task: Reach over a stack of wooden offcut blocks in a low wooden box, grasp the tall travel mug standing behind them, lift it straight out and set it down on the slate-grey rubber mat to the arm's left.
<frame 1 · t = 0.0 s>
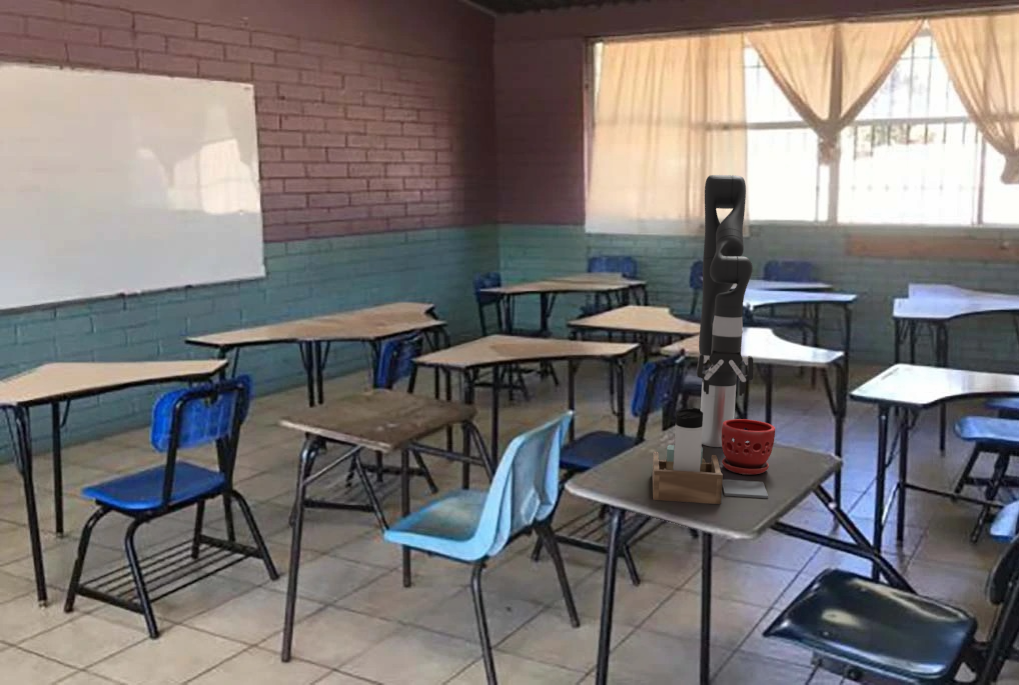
hand: (723, 394, 252), 17 cm above the table, tool pointing down, fingers open, 8 cm apart
mat: (744, 489, 231), on the table
offcut mid: (685, 472, 235), point 3 cm above the table, touching offcut low
plant pot: (745, 470, 246), on the table
wooden box: (685, 488, 231), on the table
travel mug: (685, 493, 228), resting in wooden box
offcut low: (684, 483, 235), resting in wooden box, touching offcut mid
offcut top: (684, 460, 234), point 6 cm above the table
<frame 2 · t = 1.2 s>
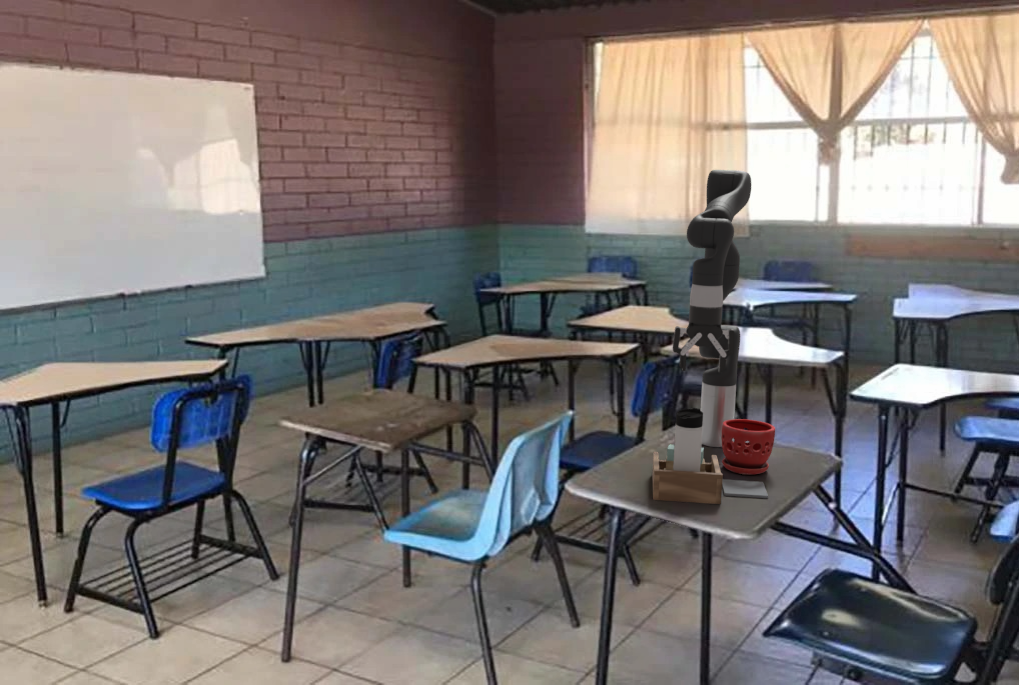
hand: (701, 371, 229), 28 cm above the table, tool pointing down, fingers open, 8 cm apart
offcut mid: (684, 471, 235), point 3 cm above the table, touching offcut low, offcut top
offcut top: (685, 460, 234), point 6 cm above the table, touching offcut mid
everything else where it was.
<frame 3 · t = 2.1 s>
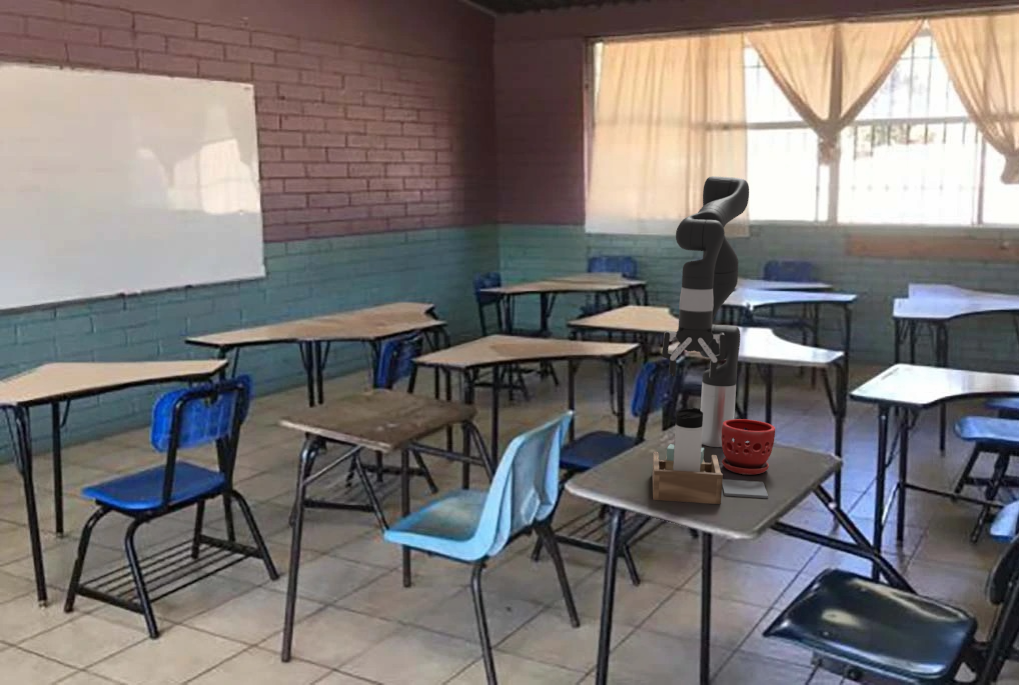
hand: (692, 376, 223), 28 cm above the table, tool pointing down, fingers open, 8 cm apart
offcut mid: (684, 472, 235), point 3 cm above the table, touching offcut low
offcut top: (684, 460, 234), point 6 cm above the table
everything else where it was.
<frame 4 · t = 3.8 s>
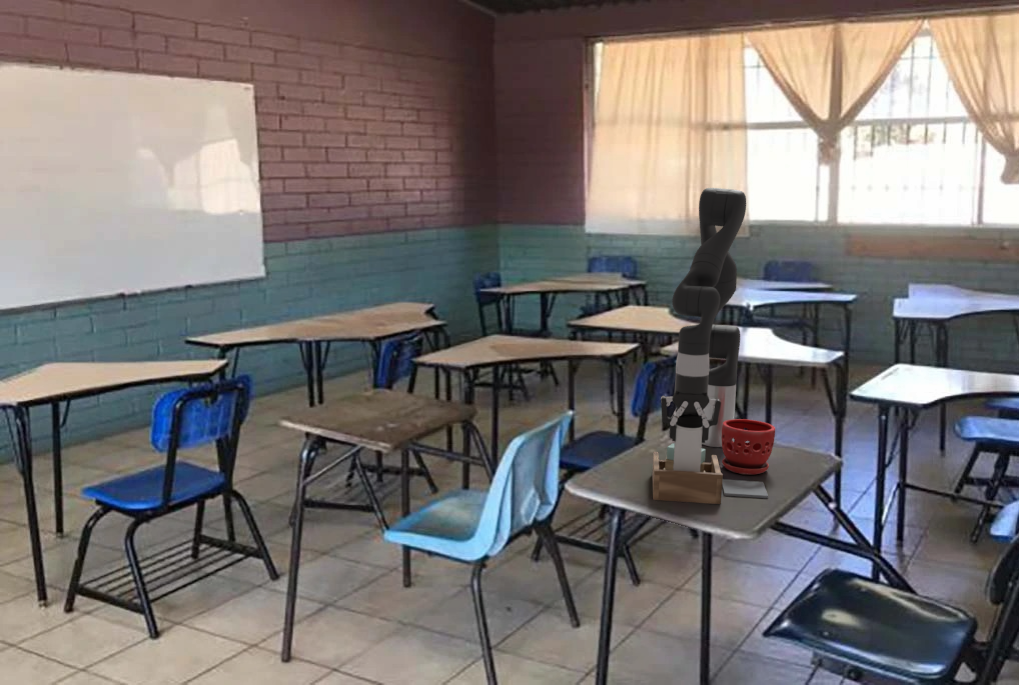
hand: (688, 440, 226), 13 cm above the table, tool pointing down, fingers closed on travel mug, 6 cm apart
offcut mid: (684, 471, 235), point 3 cm above the table, touching offcut low, offcut top
travel mug: (685, 493, 228), resting in wooden box, touching gripper
offcut top: (685, 459, 234), point 6 cm above the table, touching offcut mid
everything else where it was.
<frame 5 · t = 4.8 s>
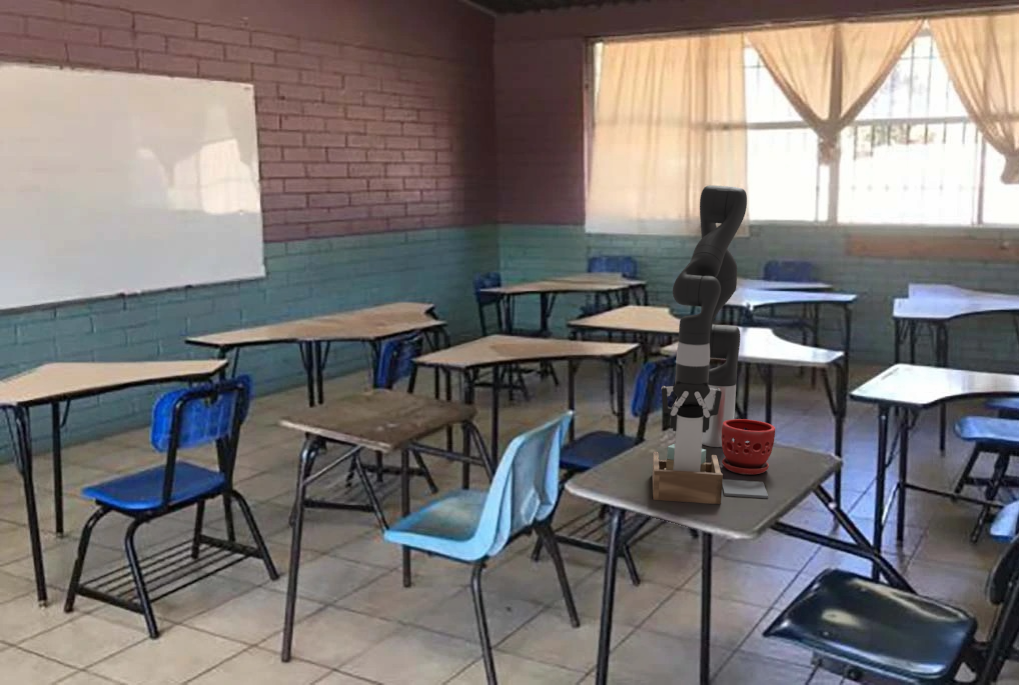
hand: (689, 430, 225), 15 cm above the table, tool pointing down, fingers closed on travel mug, 6 cm apart
offcut mid: (685, 472, 235), point 3 cm above the table, touching offcut low
travel mug: (686, 483, 228), point 2 cm above the table, touching gripper
offcut top: (686, 460, 234), point 6 cm above the table
everything else where it was.
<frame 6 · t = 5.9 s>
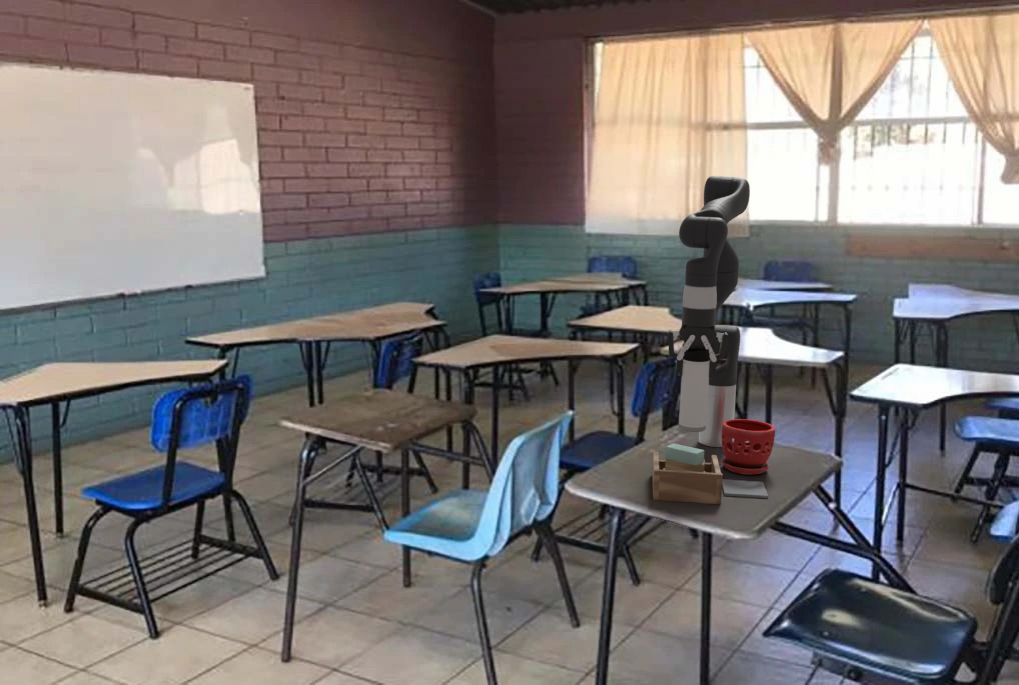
hand: (695, 375, 223), 28 cm above the table, tool pointing down, fingers closed on travel mug, 6 cm apart
offcut mid: (684, 472, 234), point 3 cm above the table, touching offcut low, offcut top
travel mug: (692, 429, 226), point 15 cm above the table, touching gripper
offcut top: (684, 460, 234), point 6 cm above the table, touching offcut mid
everything else where it was.
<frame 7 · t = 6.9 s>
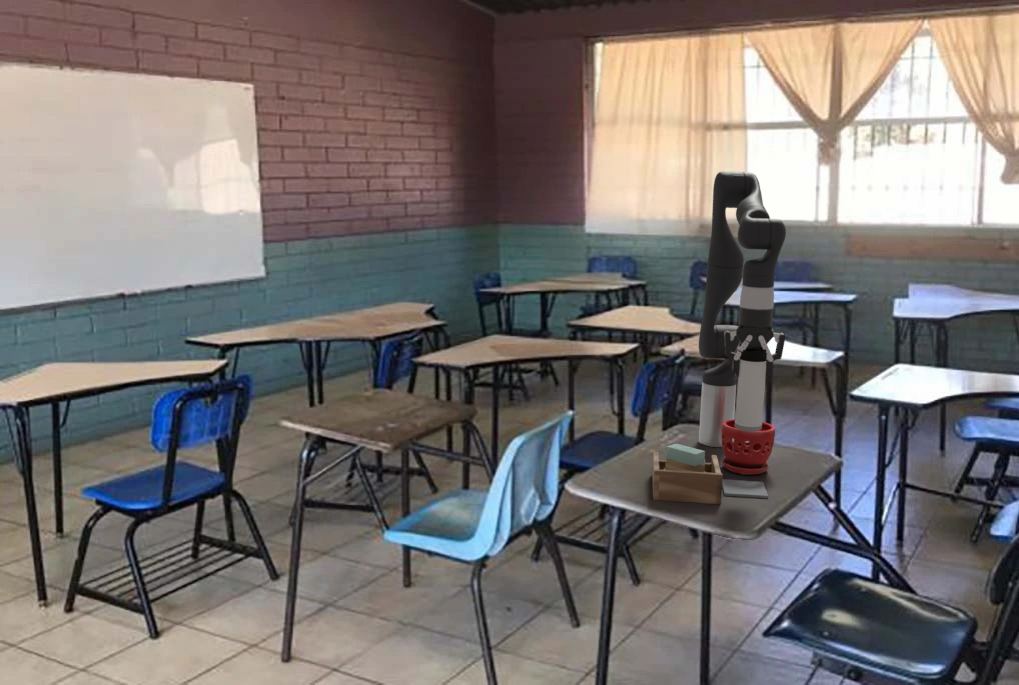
hand: (751, 375, 225), 28 cm above the table, tool pointing down, fingers closed on travel mug, 6 cm apart
travel mug: (748, 428, 228), point 15 cm above the table, touching gripper
everything else where it was.
when the fingers open (15 cm above the table, at t = 9.7 s): travel mug drops 2 cm, resting on mat.
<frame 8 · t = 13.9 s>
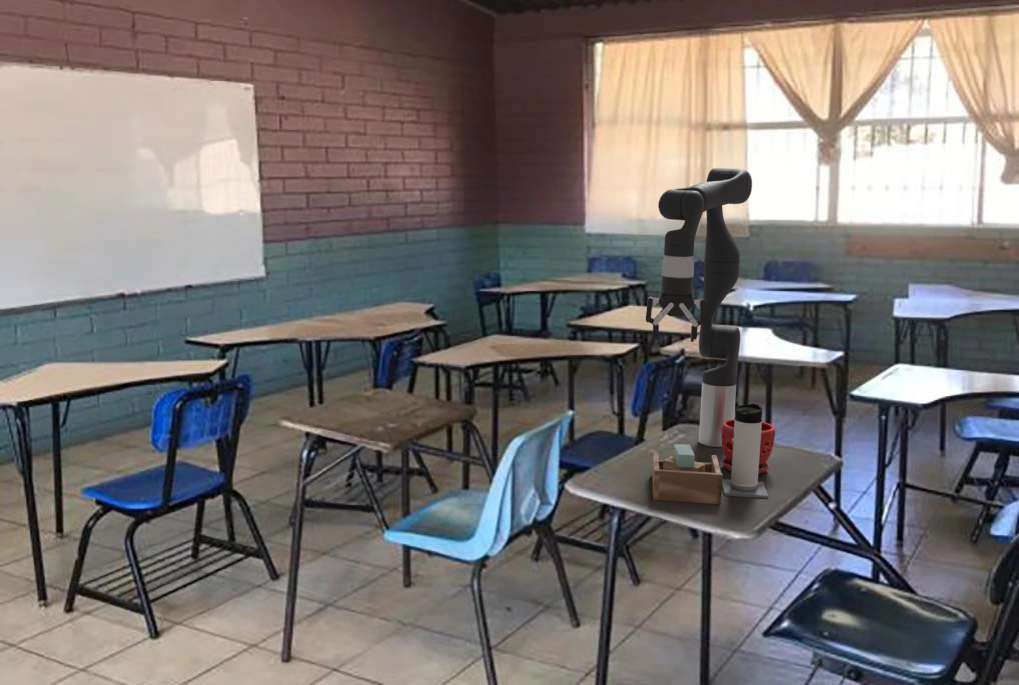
hand: (674, 340, 234), 34 cm above the table, tool pointing down, fingers open, 8 cm apart
travel mug: (744, 487, 231), resting on mat
at the end: travel mug 0.1 cm from the mat (horizontally); travel mug tilted 0°; the gripper is holding nothing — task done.
